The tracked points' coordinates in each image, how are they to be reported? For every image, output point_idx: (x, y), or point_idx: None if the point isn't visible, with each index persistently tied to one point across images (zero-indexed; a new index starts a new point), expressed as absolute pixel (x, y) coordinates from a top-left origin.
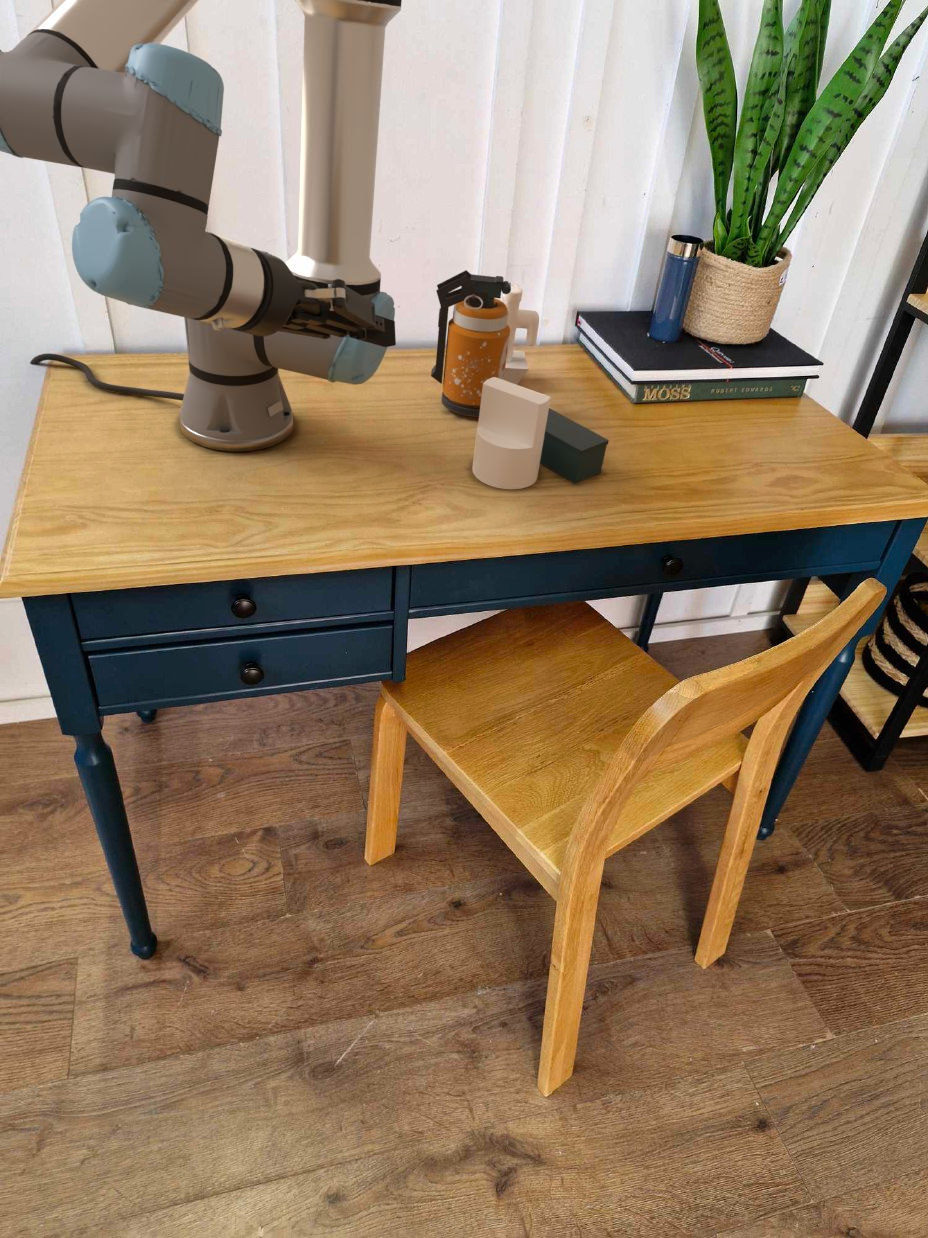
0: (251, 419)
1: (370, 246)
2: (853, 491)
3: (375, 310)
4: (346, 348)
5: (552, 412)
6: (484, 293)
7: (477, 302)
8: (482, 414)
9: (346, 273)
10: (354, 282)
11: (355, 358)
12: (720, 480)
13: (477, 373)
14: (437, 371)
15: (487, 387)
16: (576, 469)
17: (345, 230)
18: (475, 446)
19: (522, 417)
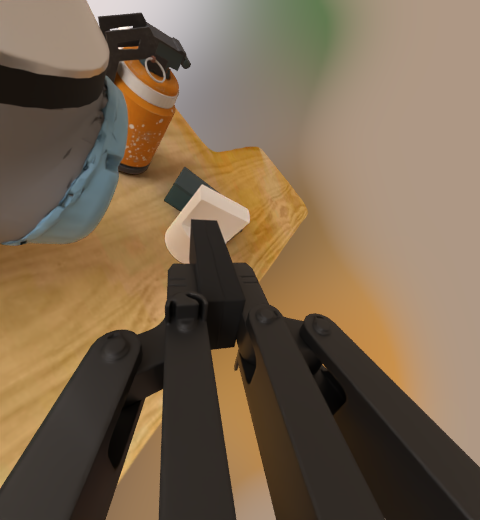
0: None
1: None
2: (297, 212)
3: (123, 146)
4: (62, 224)
5: (206, 185)
6: (164, 59)
7: (154, 67)
8: (190, 218)
9: (39, 26)
10: (75, 71)
11: (84, 234)
12: (268, 217)
13: (147, 144)
14: None
15: (205, 202)
16: (232, 237)
17: None
18: (178, 239)
19: (228, 226)
